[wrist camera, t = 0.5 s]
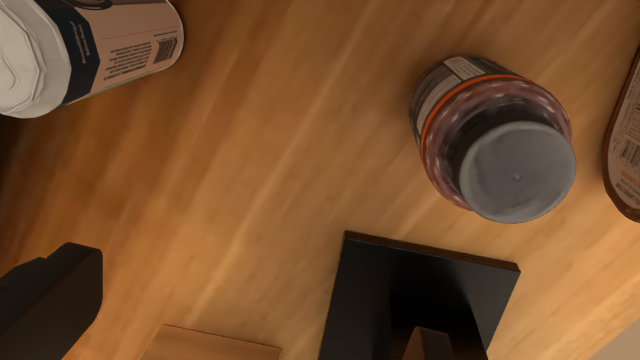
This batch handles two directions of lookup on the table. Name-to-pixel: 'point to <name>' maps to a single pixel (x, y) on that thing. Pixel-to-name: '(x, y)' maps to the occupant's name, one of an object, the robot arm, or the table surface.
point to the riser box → (205, 347)
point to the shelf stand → (412, 299)
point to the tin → (625, 149)
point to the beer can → (80, 49)
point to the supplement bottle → (492, 139)
